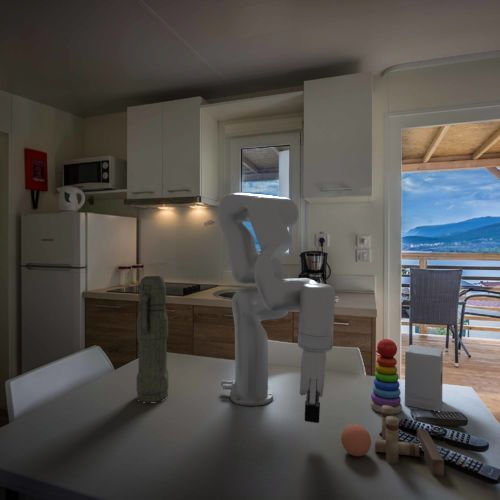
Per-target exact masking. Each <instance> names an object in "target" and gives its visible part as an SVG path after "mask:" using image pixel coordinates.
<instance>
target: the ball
mask: <svg viewBox="0 0 500 500" xmlns="http://www.w3.org/2000/svg"><path fill="white" fill-rule="evenodd" d="M340 438H341V439H340V440H341V441H340V442H341V444H342V447H343V448H344V451H346V452H347V453H348V454H349V455H352V456H354V457H362V456H365V455H366V454H367V453H368V452H369V450H370V448H371V445H372V439H371V436H370V433H369V431H368V430H367V429H366V428H365V427H364V426H362V425H360V424H358V423H357V424H356V423H352V424H348V425H346V427H344V429H343V430H342V433H341V436H340Z"/></svg>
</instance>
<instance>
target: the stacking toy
mask: <svg viewBox="0 0 500 500" xmlns="http://www.w3.org/2000/svg"><path fill="white" fill-rule="evenodd" d="M376 349H377V352H378V355H379V356H377V358H376V362H377V363H376V365H375V370H376V371H375V372H374V380H373V384H374V385H373V387H372V393H371V395H370V398H371V400H370V407H371V408H372V409H373V410H374V411H375V412H378V413H381V414H382V406H383V405H389V406H392V407H393V408H394V415H396V414H400V413H401V411H402V410H403V406H402V404H401V403H402V400H401V390H400V386H401V385H400V382H399V379H400V378H399V377H400V376H399V374H398V373H397V372H398V367H397V366H396V365H397V364H398V361H397V359H396V358H395V356H396V355H397V352H398V346H397V344H396V343H395V342H394V341H393V340H391V339H389V338H383V339H381V340H379V342H378V343H377V345H376Z"/></svg>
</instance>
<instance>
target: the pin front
mask: <svg viewBox="0 0 500 500" xmlns="http://www.w3.org/2000/svg"><path fill="white" fill-rule="evenodd" d="M374 451H375V453H376V452H377V453H383V454H386V440H382V439H378V438H375V439H374ZM398 455H402V456H409V457H417V458H418V457H420V447H419V445H418V443H417V442H416V443H415V442H410V441H409V442H405V441H398Z"/></svg>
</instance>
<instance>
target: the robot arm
mask: <svg viewBox="0 0 500 500" xmlns="http://www.w3.org/2000/svg"><path fill="white" fill-rule="evenodd" d="M298 219H299V209H298V206H297V204H296V203H295V201H294V200H293V199H291V198H289V197H282V196H276V195H274V196H273V195H266V194H256V193H255V194H254V193H244V192H234V193H233V192H231V193H228V194H226V195H224V196H223V197H222V198H221V199H220V202H219V203H218V221H219V226H220V228H221V232H222V233H223V235H224V238H225V241H226V245H227V246H226V247H227V253H228V257H229V258H228V259H229V264H230V269H231V275H232V278H233V280H234V282H235V283H236V284H238V285H255V286H256V287H248V288H242V289H240V290H237V291H236V292H235V293H234V295H232V298H231V309H232V316H233V323H234V379H232V380H228V379H222V380H221V382H220V385H221V387H222V389H223V390H230V392H229V398H230V400H231V401H232V402H233V403H234V404H237V405H239V406H244V407H245V406H247V407H248V406H249V407H255V406H256V407H257V406H262V405H266V404H269V403H270V402H271V401H273V399H274V392H273V390H272V389H270V388H269V337H268V334H267V333H268V332H267V331H266V329H265V328H264V326H263V324H262V323H261V322H262V321H266V320H267V321H269V320H275V319H281V318H284V317H286V316H287V315H288V314H289V312H292V311H299V312H298V315H299V316H298V336H297V337H298V338H297V346H298V347H299V348H300V349H301V350H302V351H301V362H300V365H301V366H300V379H299V381H300V383H299V395H300V396H306V398H305V399H306V400H305V402H304V421H305V422H307V423H308V422H309V423H315V424H319V423H320V413H321V410H320V409H321V402H320V398H323V395H324V388H325V378H326V372H327V371H326V370H327V368H326V367H327V354H328V353H327V352H330V351H331V350H333V347H334V346H333V345H334V344H333V342H334V328H335V327H334V326H335V325H334V322H335V304H336V302H335V301H336V291H335V288H334V286H332V285H330V284H328V283H327V284H326V283H320V282H317V281H316V280H314V279H312V278H308V277H300V278H299V277H298V278H296V277H295V278H286V274H285V269H284V265H283V261H282V260H281V259H280V256H282V255H283V254H285V253H287V251H288V250H289V249H290V248H291V246H292V244H293V238H292V236H291V234H290V231H289V229H288V228H291V227H293V226H295V225H296V224H297V222H298ZM246 222H247V223H250V224H251V227H252V230H253V232H254V235H255V236H254V235H253V233H252V232H251V231H250V229H249V228H248V227H247V226H246V225H245V224H244V223H246ZM255 238H256V240H257V243H258V246H259V249H260V251H258V250H257V246H256V240H255Z"/></svg>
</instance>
